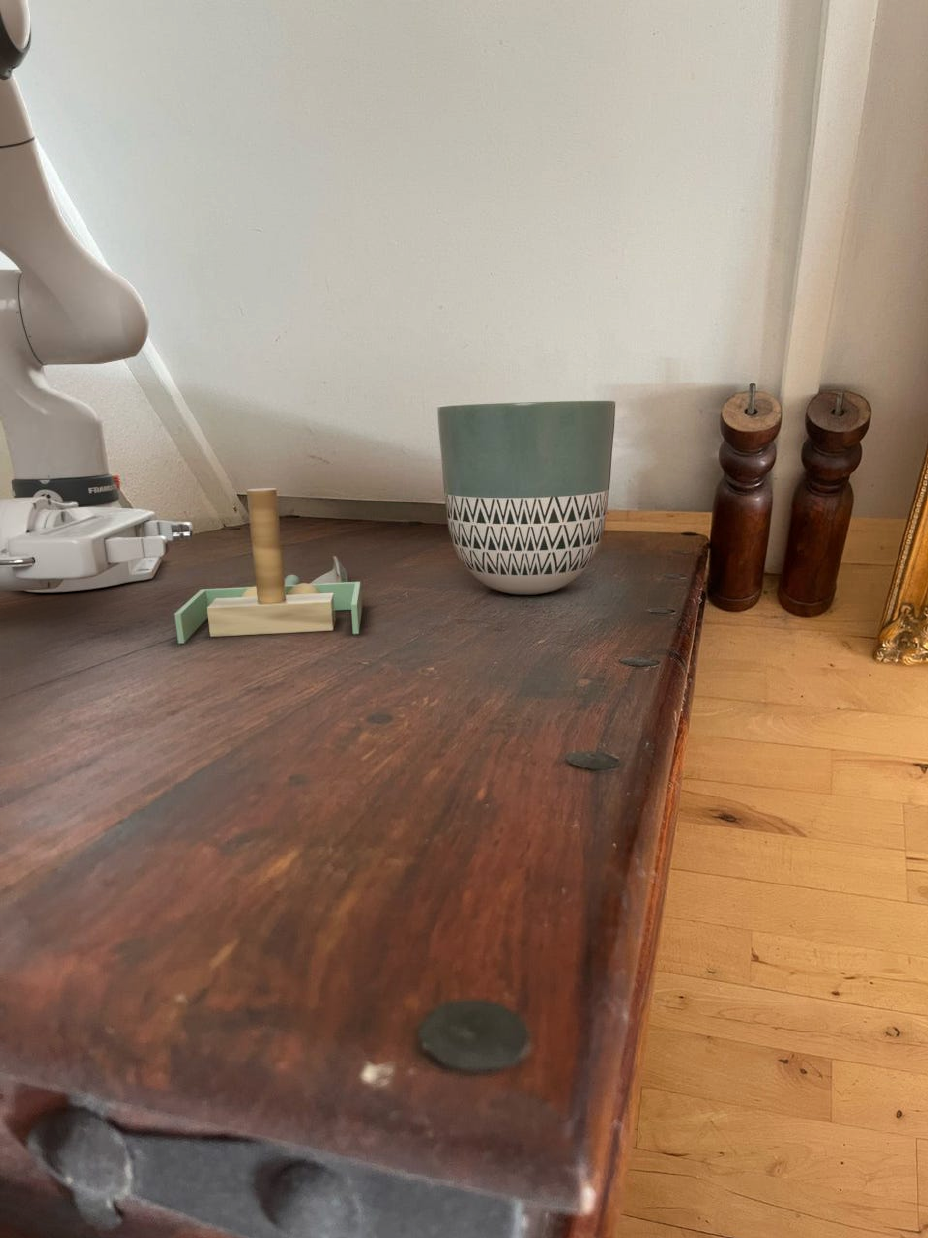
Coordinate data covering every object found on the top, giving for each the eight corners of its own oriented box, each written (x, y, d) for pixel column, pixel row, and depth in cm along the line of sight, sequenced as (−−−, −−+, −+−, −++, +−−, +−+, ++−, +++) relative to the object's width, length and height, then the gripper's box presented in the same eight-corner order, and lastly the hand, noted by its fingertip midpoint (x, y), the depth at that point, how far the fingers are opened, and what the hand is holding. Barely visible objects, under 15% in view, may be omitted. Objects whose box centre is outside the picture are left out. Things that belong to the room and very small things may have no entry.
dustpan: (221, 597, 90) (218, 573, 89) (364, 590, 92) (362, 566, 91) (177, 644, 71) (173, 613, 70) (358, 634, 73) (356, 604, 72)
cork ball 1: (235, 590, 77) (238, 624, 78) (270, 589, 77) (273, 623, 78) (242, 583, 80) (246, 615, 81) (276, 582, 80) (279, 614, 81)
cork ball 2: (283, 585, 78) (285, 619, 78) (318, 584, 78) (320, 618, 78) (288, 582, 81) (290, 615, 82) (322, 581, 81) (323, 614, 82)
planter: (609, 574, 97) (613, 402, 91) (612, 612, 78) (617, 399, 72) (459, 573, 100) (454, 407, 95) (427, 609, 81) (419, 405, 76)
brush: (218, 626, 77) (202, 489, 73) (335, 620, 78) (325, 485, 74) (210, 637, 73) (192, 493, 70) (333, 630, 74) (322, 488, 71)
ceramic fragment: (350, 600, 86) (348, 567, 85) (304, 603, 85) (302, 570, 84) (344, 578, 100) (342, 550, 99) (305, 581, 99) (302, 552, 98)
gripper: (-34, 526, 61) (141, 519, 62) (68, 500, 80) (200, 495, 82) (-19, 601, 62) (152, 593, 64) (77, 557, 82) (206, 552, 83)
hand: (179, 537), depth 73 cm, fingers open, 8 cm apart
